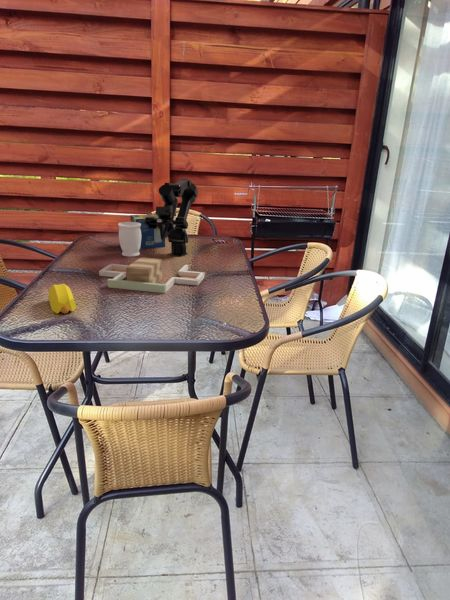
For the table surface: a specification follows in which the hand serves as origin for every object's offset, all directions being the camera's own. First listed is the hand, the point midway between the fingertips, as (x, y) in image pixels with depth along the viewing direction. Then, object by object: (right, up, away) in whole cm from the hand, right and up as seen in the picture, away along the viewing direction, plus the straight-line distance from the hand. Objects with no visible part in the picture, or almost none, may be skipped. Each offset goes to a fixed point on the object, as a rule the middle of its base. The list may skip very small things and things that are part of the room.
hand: (162, 239), depth 193 cm
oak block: (-5, -19, -14) cm, 24 cm away
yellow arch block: (-29, -28, -40) cm, 57 cm away
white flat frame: (-3, -17, -9) cm, 19 cm away
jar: (-18, -4, +23) cm, 29 cm away
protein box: (-13, +2, +39) cm, 41 cm away
